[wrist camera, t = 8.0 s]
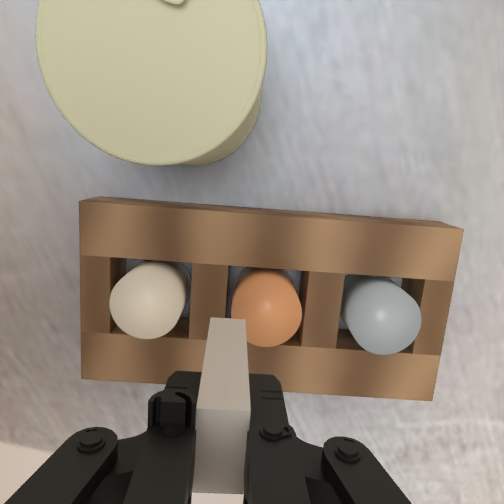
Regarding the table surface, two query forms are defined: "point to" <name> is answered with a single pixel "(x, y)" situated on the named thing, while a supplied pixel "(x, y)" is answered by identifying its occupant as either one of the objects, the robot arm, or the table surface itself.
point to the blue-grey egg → (379, 313)
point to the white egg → (150, 298)
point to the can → (155, 74)
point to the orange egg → (266, 305)
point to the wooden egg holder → (276, 257)
